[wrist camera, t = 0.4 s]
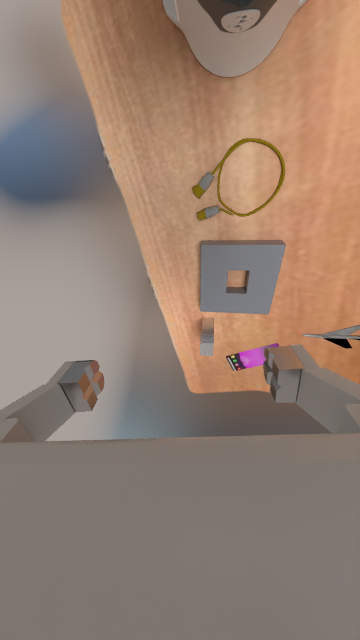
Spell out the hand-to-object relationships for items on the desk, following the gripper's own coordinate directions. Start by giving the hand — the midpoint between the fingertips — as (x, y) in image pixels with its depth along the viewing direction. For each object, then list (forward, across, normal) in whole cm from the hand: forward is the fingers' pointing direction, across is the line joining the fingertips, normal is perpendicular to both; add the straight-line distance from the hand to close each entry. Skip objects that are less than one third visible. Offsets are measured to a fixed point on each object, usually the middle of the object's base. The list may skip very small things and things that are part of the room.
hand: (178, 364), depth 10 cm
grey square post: (+42, -2, +22) cm, 47 cm away
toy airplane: (+40, -37, +27) cm, 61 cm away
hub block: (+40, -10, +8) cm, 42 cm away
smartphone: (+43, -15, +35) cm, 58 cm away
